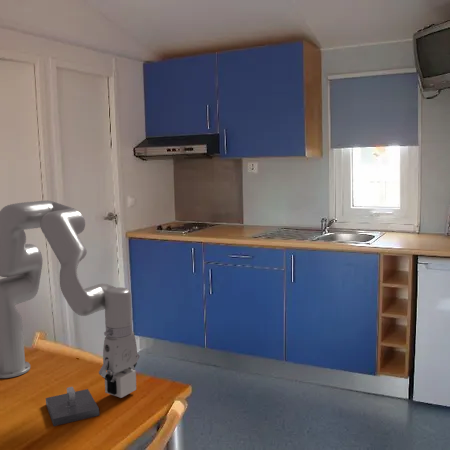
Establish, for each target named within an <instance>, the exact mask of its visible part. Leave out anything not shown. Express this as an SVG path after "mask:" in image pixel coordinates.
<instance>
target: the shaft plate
mask: <svg viewBox="0 0 450 450" xmlns="http://www.w3.org/2000/svg"><path fill="white" fill-rule="evenodd" d="M45 404H46V409H47V411H48V414H49V416H50V419H51V422H52V425H53V427H56V426H57V427H58V426H61V425H64V424H69V423H73V422H77V421H81V420H86V419H90V418H94V417H98V416H100V409H99V406H98V404H97V402H96V401H95V399H94V397H93V395H92V394H91V392H90V390H89V388H86V389H81V390H77V391H76V390H75V389H74V387H73V386H69V387H66V393H62V394H58V395H53V396H49V397H45Z"/></svg>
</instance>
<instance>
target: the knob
mask: <svg viewBox="0 0 450 450" xmlns="http://www.w3.org/2000/svg"><path fill="white" fill-rule="evenodd" d="M106 373H107V371H106ZM110 376H112V372H111V374H110ZM115 381H116V390H117V394H115V395H114V394H111V393H108V391H107V380H105V379H104V391H105V394H108V395H111V396H114V397H116V398H117V397H118V398H120V399H121V398H124V397H126V396H127V395H129V394H131V393H133V392H134V391H136V390H137V370H136V369H135V370H133V369H129V368H127V369H125V370H123V371H121V372H118V373H116V377H115Z"/></svg>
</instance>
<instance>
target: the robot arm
mask: <svg viewBox="0 0 450 450" xmlns="http://www.w3.org/2000/svg"><path fill="white" fill-rule="evenodd" d="M85 227H86V220H85V217H84V216H83V214H82V213H81V212H80V211H79V210H77V209H75V208H73V207H71V206H68V205H65V204H63V203H62V204H61V203H58V202H56V201H52V200H37V201H35V200H34V201H25V202H17V203H12V204H11V203H10V204H7V205H5V206H4V207H2V208H1V209H0V277H2V278H0V379H9V378H15V377H19V376H22V375H24V374H26V373H27V372H29V371H30V370H31V364H30V362H29V361H26V356H25V355H26V354H25V341H24V328H23V319H22V315H21V313H20V311H18V309H17V308H16V305H19V304H23V303H24V302H25V303H26V302H27V301H30V300H32V299H34V298H35V297H36V296H37V294H38V292H39V289H40V288H39V287H40V282H41V276H42V275H41V274H42V270H43V255H42V252H41V250H40V248H39V247H38V246H37V245H34V244H32V243H26V242H27V235H26V232H25V230H30V229H33V230H34V229H38V228H39V229H40V230H41V232H42V233H43V235H44V237H45V239H46V242H48V244H49V246H50V248H51V249H52V251H53V253H54V255H55V257H56V259H57V260H58V262H59V264H60V270H59V288H60V290H61V294H62V295H63V297H64V299H65V300H66V302H67V304H68V306H69V307H70V309H71V310H72V311H73V312H74V314H76V315H78V316H81V317H88V316H91V315H93V314H95V313H97V312H100V311H103V310H104V323H105V331H104V332H103V334H104V336H105V337H104V341H103V350H102V351H103V352H102V366H101V367H100V369H99V371H98V374H99V375H100V376H101V377H102V378H103V380H104V381H105V380H107V391H108V393H111V394H114V395H115V394H117V390H116V381H115V377H116V373H118V372H121V371H123V370H125V369H127V368H129V369H133V370H136V366H137V365H138V361H139V359H140V354H139V353H138V349H137V348H138V347H137V341H136V335H135V332H134V331H133V326H132V325H133V323H132V319H133V317H132V294H131V291H130V290H129V289H128V288H125V287H116V286H113V285H111V284H108V283H99V284H96V285H92V286H90V287H89V286H88V287H86V288H84V287H83V286H82V284H81V282H80V279H79V277H78V266H79V263H80V262H81V261H82V260H83V259H84V258H85V257H86V255H87V252H88V251H87V248H86V246H85V245H84V243H83V241H82V240H81V238H80V237H79V235H80V234H81V233H82V232H84V230H85ZM106 372H107V373H106ZM111 372H112V376H110V374H111ZM108 393H107V394H108ZM111 394H110V395H111ZM114 395H113V396H114Z"/></svg>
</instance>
